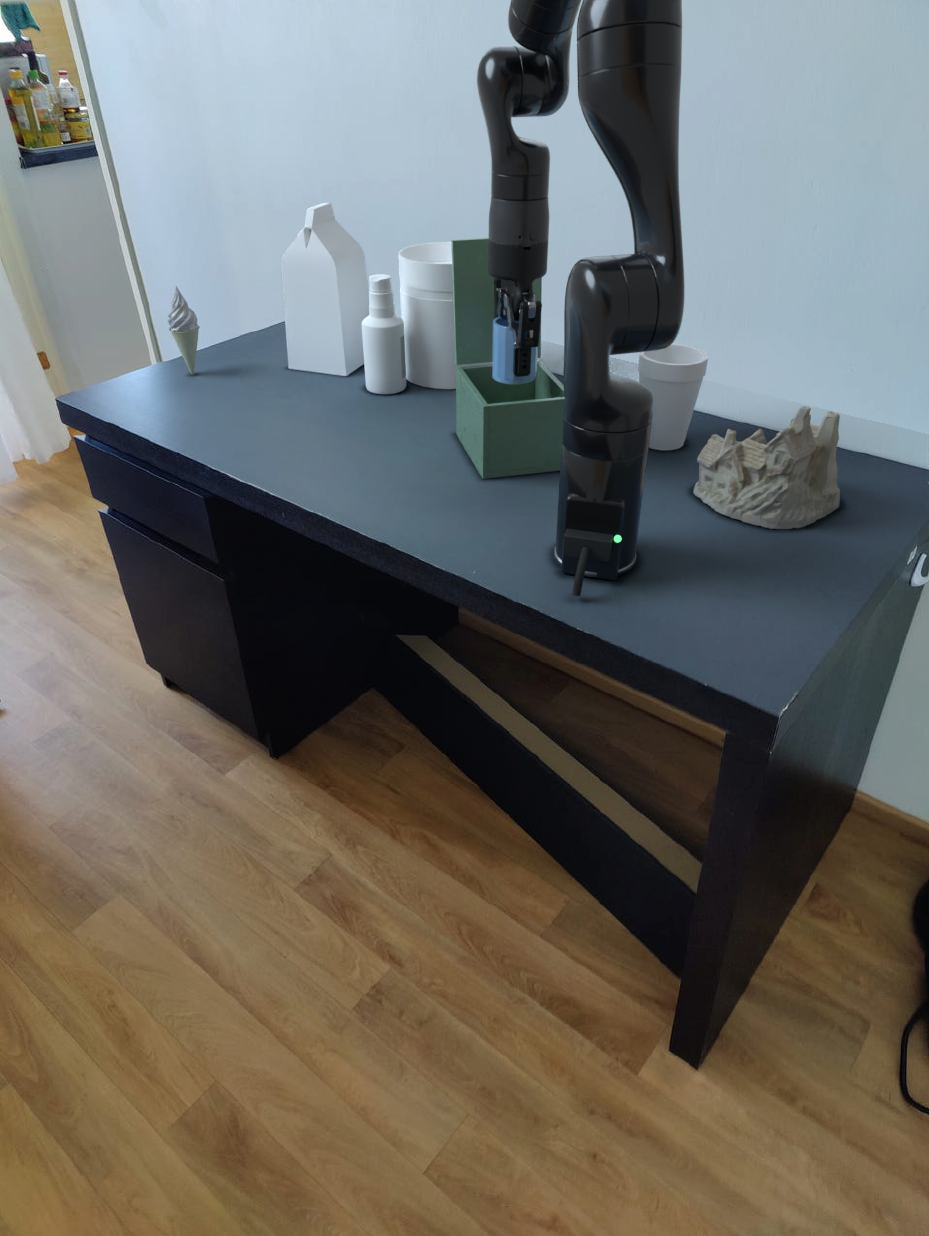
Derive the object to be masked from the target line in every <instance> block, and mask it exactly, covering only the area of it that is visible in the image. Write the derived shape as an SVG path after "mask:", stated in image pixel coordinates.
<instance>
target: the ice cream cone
mask: <svg viewBox="0 0 929 1236" xmlns="http://www.w3.org/2000/svg"><path fill="white" fill-rule="evenodd" d="M167 317H168V318H167V324H168V326H169V328H168V330H169V332H170V333H171V335H172V338H173V339H174V342H175V344H176V346H177V348H178V350H179V352H180V354H181V356H182V358H183V361H184V362H185V364H186V367H187V369H188V371H189V373H190V375H191V376H195V371H196V360H197V353H198V342H199V330H200V325H198V316H197V314H196V313H195V311H193V310H192V308H190V307H189V304H188V301H187V300H186V298H185V297H184V295H182V293H181V290H180V289H179V287H178V286H177V285H176V286H175V290H174V295H173V299H172V301H171V309H170V312H169V313H168V314H167Z"/></svg>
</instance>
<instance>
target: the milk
mask: <svg viewBox="0 0 929 1236" xmlns="http://www.w3.org/2000/svg"><path fill="white" fill-rule="evenodd" d="M305 211H306V213H305V220H304V226H303V228H301V229H300V231H299V232H298V233H297V235H296V237H295V238H294V239H293V241H292V242H291V243H290V244H289V246H288V247H287V248H286V249H285V251H284V252H283V254H282V256H281V259H280V269H281V270H280V271H281V284H282V298H283V310H284V311H283V312H284V327H285V340H286V341H285V342H286V352H287V353H286V354H287V367H288V368H287V369H289V370H297V371H304V372H311V373H319V374H327V375H334V376H342V377H347V376H349V375H350V374H352V373H354V371H356V370H357V369H358V368H360V367H361V366H363V365H364V352H363V338H362V321H363V320H364V319H365V318H366V317H368V316H369V315H370V313H369V281H368V280H369V279H368V272H367V264H366V256H365V252H364V249H363V248H362V246H361V244H360V243H359V242H358V241H357V240H356V239H355V237H353V235H351V233H349V232H348V230H347V229H345V228H344V227H343V225H342V224H341V223H340V222H338V220H336V216H335V212H334V208H333V205H332V202H322V203H319V204H316V205H312V206H311V207H308V208H306V210H305Z"/></svg>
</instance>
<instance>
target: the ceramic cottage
mask: <svg viewBox="0 0 929 1236" xmlns="http://www.w3.org/2000/svg"><path fill="white" fill-rule="evenodd" d="M811 409H812V407H809V406H805V405H804V406H803V405H801V406H800V407H799V409H798V410H797V412H796V414H795V415H794V417H793V418H792V419H791V420H790V424H789V426H788V427H786V428H784V429H782V430H780V431H779V432H777V433H776V434H775V435H776V436H774V438H772V439H771V440H769V442H768V441H767V438H766V436H765V431H764V430H763V429H762V428H759V429H757V430H756V431H755V432H754V433H753V434H752V435H750V436H749V437H747V438H745V439H744V440H742V441H737V431H736V430H732V429H731V428H727V431H726V433H725V436H724V437H722V436H720V435H719V434H717V433H715V434H711V437H710V438H709V439H708V440H707V443H706V444H705V446H703V448H702V449H701V451H700V453H699V454H698V456H697V458H696V462H697V463H698V464H699V466H698V481H697V482H696V483H695V485H694V488H693V492H692V493H693V494H694V496H695V497H697V498H698V499H699V498H700V500H701V501H702V503H704V504H707V505H708V506H709V507H711V509H713V510H714V512H716V513H718V514H721V515H724V516H726V517H729V518H731V519H733V520H739V521H741V522H742V523H746V524H750V525H753V526H756V527H757V526H758V527H759V526H761V528H765V529H766V528H767V529H770V530H774V529H775V530H792V529H801V528H805V527H807V526H810V525H811V524H813V523H815V522H817V520H820V519H822V518H825V517H826V516H827V515H830V514H831V513H833V512H834V511H836V510H837V509H839V508H840V502H841V489H840V487H839V486H838V483H837V481H838V474H839V473H838V472H839V470H838V469H839V468H838V464H837V463H838V462H837V459H838V457H839V453H838V451H837V450H838V449H837V448H838V443H839V441H840V433H839V425H840V420H841V419H840V418H841V415H840V413H838V412H836V411H831V410H830V411H827V412H826V413H825V415H824V416H823V418H822V419H821V423H820V425H817V424H813V423H811V419H812V415H811Z"/></svg>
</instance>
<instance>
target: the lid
mask: <svg viewBox="0 0 929 1236" xmlns="http://www.w3.org/2000/svg"><path fill="white" fill-rule="evenodd" d="M488 238H489V237H485V238H484V237H483V238H482V237H481V238H464V239H463V238H462V239H451V240H450V242H451V247H452V278H453V309H454V341H455V364H456V365H460V364H472V363H484V362H492V335H493V320H494V277H492V276H491V275H490V274H489V272H488ZM542 280H543V277H541V278H539V279H538V278H537V279H536V280H534V281H533V284H532V285H533V292H535V297H536V301H541V302H542V295H543V294H542V292H543V291H542V290H543V289H542V287H543V285H542V284H543V283H542V282H543V281H542ZM541 352H542V320H541V321H540V332H539V344H538V355H537V359H541V356H542V355H541V354H542V353H541Z"/></svg>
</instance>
